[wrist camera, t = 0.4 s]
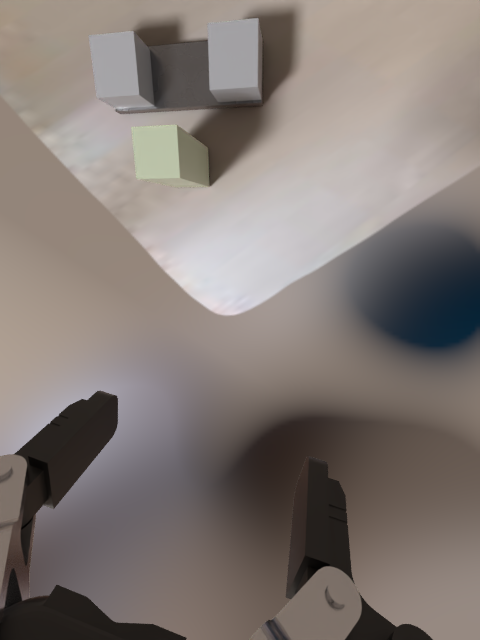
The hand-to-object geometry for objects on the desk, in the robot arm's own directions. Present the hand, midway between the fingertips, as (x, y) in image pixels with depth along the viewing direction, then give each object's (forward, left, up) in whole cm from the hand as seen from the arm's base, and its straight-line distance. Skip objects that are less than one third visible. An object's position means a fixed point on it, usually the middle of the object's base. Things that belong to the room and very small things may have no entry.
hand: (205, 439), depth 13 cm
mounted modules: (-22, -9, -28) cm, 37 cm away
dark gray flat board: (-22, -9, -28) cm, 37 cm away
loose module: (-14, -9, -28) cm, 32 cm away
